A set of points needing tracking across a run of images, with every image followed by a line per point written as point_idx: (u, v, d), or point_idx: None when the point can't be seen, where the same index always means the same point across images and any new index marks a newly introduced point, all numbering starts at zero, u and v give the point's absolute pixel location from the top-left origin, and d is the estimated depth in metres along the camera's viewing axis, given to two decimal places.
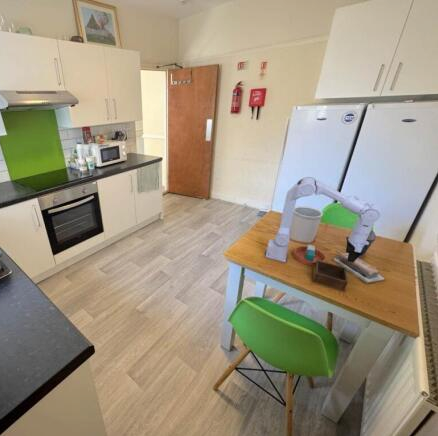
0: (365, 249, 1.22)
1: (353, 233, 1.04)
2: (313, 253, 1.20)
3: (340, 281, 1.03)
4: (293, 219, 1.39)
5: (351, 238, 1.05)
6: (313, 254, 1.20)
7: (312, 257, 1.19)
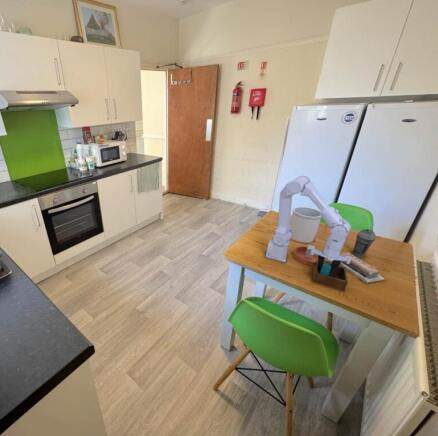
0: (365, 249, 1.22)
1: None
2: (329, 264, 1.10)
3: (340, 281, 1.03)
4: (293, 219, 1.39)
5: None
6: (329, 265, 1.09)
7: (328, 268, 1.09)
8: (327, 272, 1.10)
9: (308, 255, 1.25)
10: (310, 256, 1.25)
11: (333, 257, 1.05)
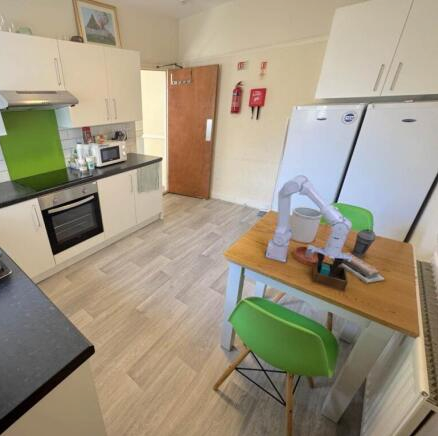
0: (365, 249, 1.22)
1: None
2: (328, 267, 1.10)
3: (340, 281, 1.03)
4: (293, 219, 1.39)
5: None
6: (328, 268, 1.10)
7: (327, 271, 1.10)
8: None
9: (308, 255, 1.25)
10: (310, 256, 1.25)
11: (334, 255, 1.05)
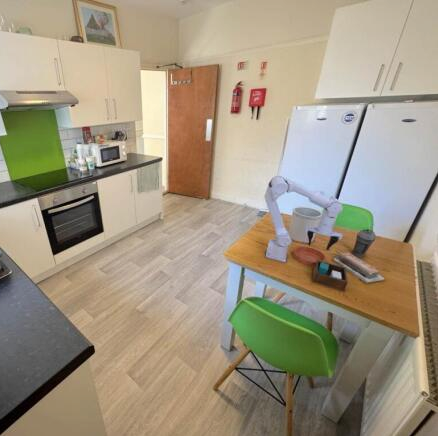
0: (365, 249, 1.22)
1: (330, 227, 1.10)
2: (327, 267, 1.11)
3: (340, 281, 1.03)
4: (293, 219, 1.39)
5: (328, 232, 1.12)
6: (326, 267, 1.10)
7: (325, 270, 1.10)
8: (324, 274, 1.11)
9: None
10: None
11: None
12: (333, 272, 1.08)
